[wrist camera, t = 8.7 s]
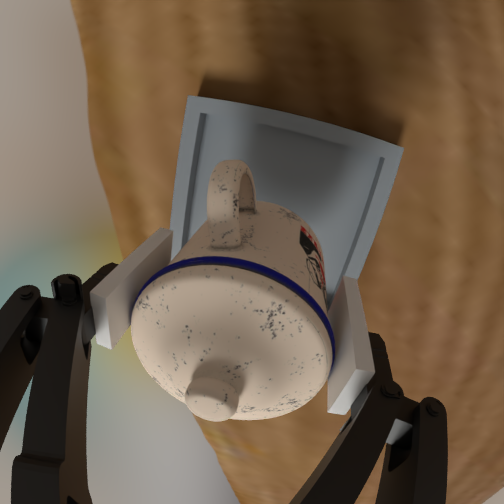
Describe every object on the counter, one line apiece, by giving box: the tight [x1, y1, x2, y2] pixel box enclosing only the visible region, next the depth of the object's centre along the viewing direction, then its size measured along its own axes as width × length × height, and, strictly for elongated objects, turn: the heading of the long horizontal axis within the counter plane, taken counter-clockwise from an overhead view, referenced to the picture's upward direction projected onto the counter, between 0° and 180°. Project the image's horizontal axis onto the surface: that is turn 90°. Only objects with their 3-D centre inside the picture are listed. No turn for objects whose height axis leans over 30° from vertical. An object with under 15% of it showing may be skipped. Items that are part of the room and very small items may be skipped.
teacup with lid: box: [131, 160, 335, 421], centre depth 15 cm, size 12×9×12 cm
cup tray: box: [170, 95, 404, 311], centre depth 25 cm, size 16×16×2 cm
